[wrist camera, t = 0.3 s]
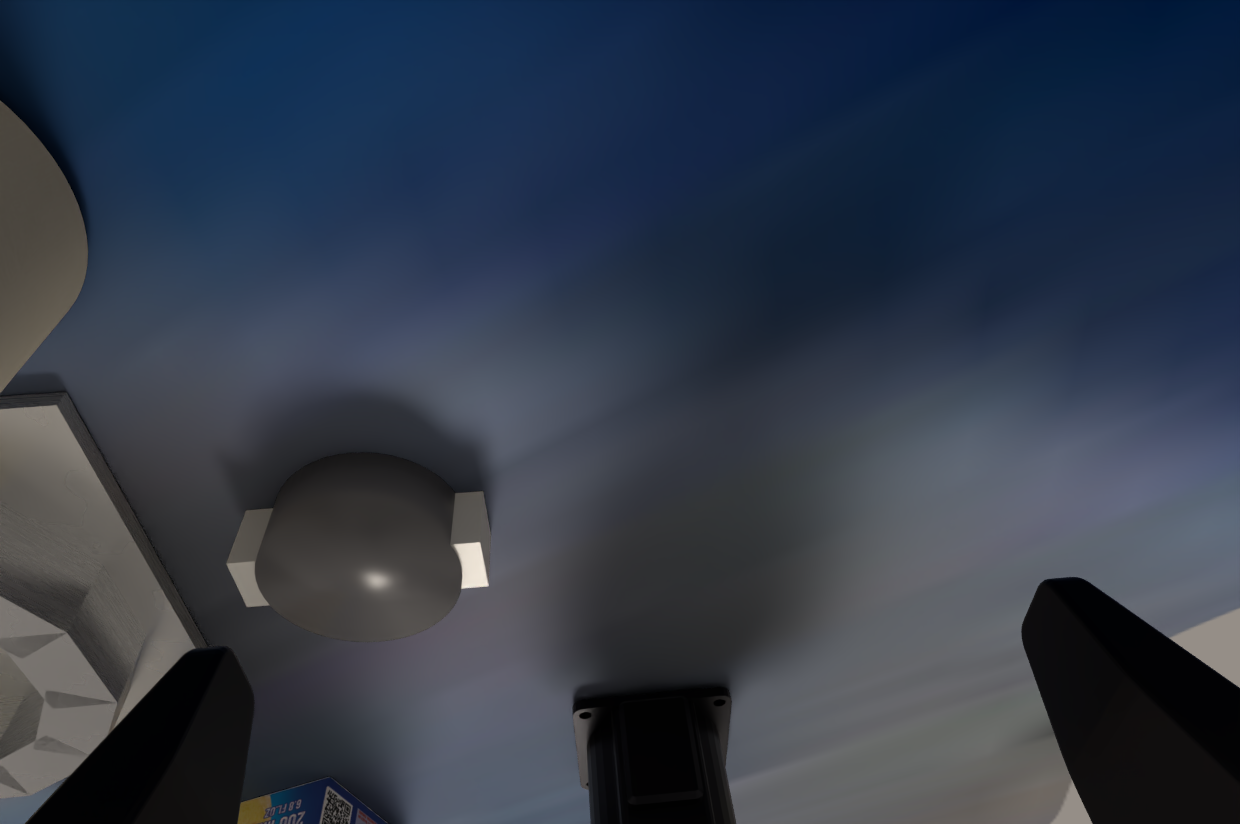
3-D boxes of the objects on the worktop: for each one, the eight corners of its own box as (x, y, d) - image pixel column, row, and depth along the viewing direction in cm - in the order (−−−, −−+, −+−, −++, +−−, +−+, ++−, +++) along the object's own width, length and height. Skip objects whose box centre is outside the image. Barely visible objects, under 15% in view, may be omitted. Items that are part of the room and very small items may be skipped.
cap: (498, 570, 29) (496, 631, 27) (283, 588, 29) (264, 652, 27) (474, 439, 25) (470, 498, 23) (227, 458, 25) (200, 520, 23)
